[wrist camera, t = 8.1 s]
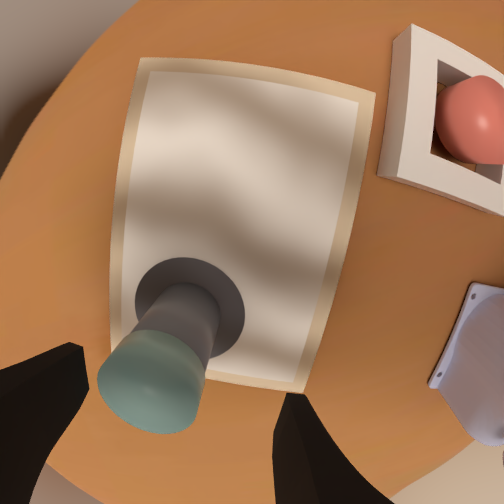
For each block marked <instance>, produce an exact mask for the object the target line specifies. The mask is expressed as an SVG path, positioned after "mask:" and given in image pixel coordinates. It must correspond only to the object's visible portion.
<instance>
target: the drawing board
mask: <svg viewBox="0 0 504 504" xmlns="http://www.w3.org/2000/svg"><path fill="white" fill-rule="evenodd" d="M375 95H376V93H374V92H371V91H368V90H364V89H361V88H358V87H355V86H351V85H348V84H344V83H340V82H337V81H333V80H329V79H325V78H321V77H317V76H312V75H308V74H303V73H298V72H294V71H288V70H283V69H278V68H272V67H266V66H259V65H252V64H245V63H237V62H228V61H218V60H206V59H189V58H140V62H139V65H138V69H137V73H136V77H135V81H134V85H133V89H132V94H131V98H130V103H129V107H128V112H127V117H126V122H125V127H124V133H123V139H122V145H121V151H120V157H119V164H118V171H117V179H116V187H115V196H114V206H113V218H112V231H111V249H110V283H109V302H110V336H111V353H112V352H113V350H114V349H115V348H116V347H117V345H118V344H119V343H120V342H121V340H122V339H123V338H124V337H125V336H127V335H128V334H130V332H131V331H132V330H133V329H134V327H135V326H136V325H137V324H138V322H139V321H140V320H141V318H142V317H143V316H144V315H145V313H146V312H147V311H148V310H149V308H150V307H151V306H152V305H153V303H154V302H155V301H156V300H157V298H158V297H159V296H160V295H161V294H162V292H163V291H164V290H165V289H166V288H168V287H169V286H171V285H173V284H176V283H182V282H187V283H193V284H196V285H199V286H201V287H203V288H204V289H206V290H207V291H208V292H210V293H211V294H212V296H213V297H214V298H215V299H216V301H217V303H218V305H219V308H220V323H219V326H218V330H217V333H216V337H215V340H214V344H213V347H212V351H211V355H210V358H209V362H208V365H207V369H206V372H205V378H207V379H212V380H218V381H223V382H228V383H234V384H240V385H246V386H253V387H260V388H267V389H274V390H282V391H291V392H300V393H303V391H304V388H305V385H306V383H307V380H308V377H309V374H310V371H311V369H312V366H313V363H314V360H315V357H316V354H317V351H318V348H319V345H320V342H321V339H322V335H323V332H324V329H325V326H326V323H327V319H328V316H329V313H330V309H331V306H332V302H333V299H334V296H335V292H336V288H337V285H338V281H339V277H340V274H341V270H342V266H343V262H344V258H345V255H346V251H347V246H348V242H349V238H350V234H351V230H352V225H353V221H354V217H355V212H356V207H357V203H358V198H359V193H360V188H361V183H362V178H363V173H364V167H365V162H366V156H367V150H368V144H369V138H370V132H371V125H372V118H373V111H374V103H375Z"/></svg>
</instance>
